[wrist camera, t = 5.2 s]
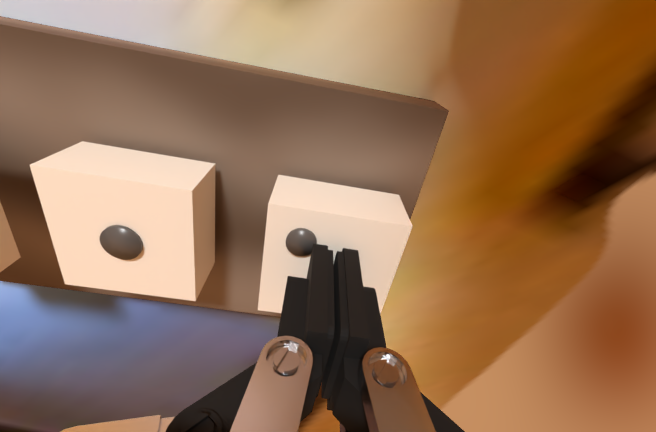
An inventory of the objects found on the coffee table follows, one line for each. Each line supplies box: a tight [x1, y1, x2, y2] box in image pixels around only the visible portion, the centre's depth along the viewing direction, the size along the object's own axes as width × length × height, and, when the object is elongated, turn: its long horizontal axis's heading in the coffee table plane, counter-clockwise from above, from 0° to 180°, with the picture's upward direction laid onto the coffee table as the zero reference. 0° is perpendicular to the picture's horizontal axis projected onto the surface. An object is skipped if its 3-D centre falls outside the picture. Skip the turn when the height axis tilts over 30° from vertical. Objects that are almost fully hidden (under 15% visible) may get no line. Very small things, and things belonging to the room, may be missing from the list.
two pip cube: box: [258, 175, 413, 314], centre depth 13 cm, size 5×5×3 cm
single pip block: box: [30, 141, 215, 301], centre depth 13 cm, size 5×5×3 cm
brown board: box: [0, 16, 449, 317], centre depth 15 cm, size 12×22×2 cm, turn 80°
